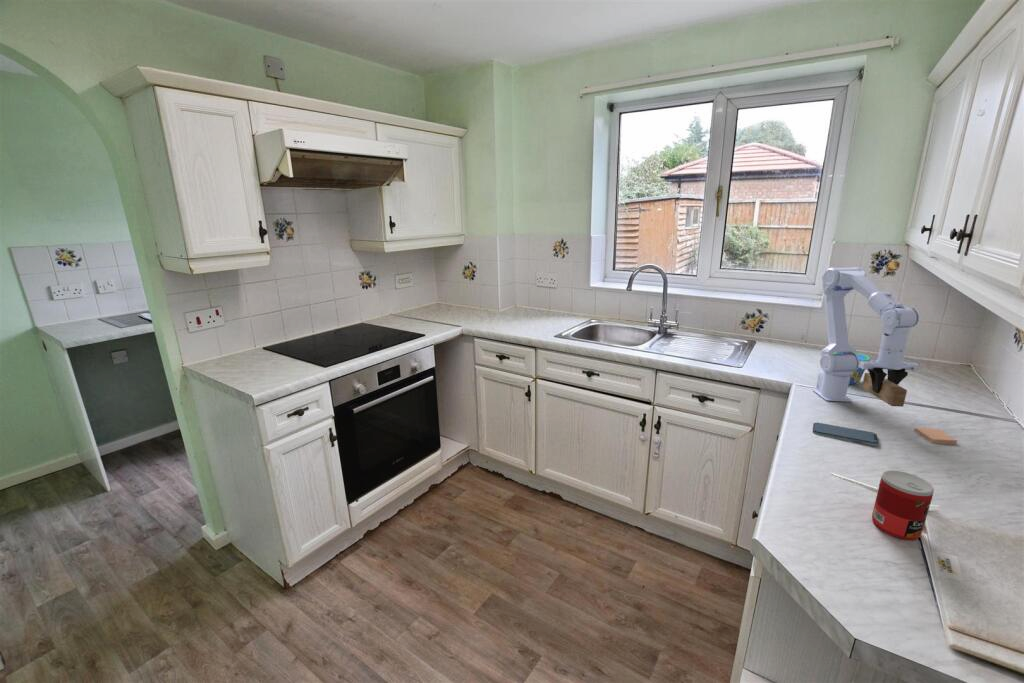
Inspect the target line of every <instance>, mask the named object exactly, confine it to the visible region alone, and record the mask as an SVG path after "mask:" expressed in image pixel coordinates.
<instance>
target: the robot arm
mask: <svg viewBox="0 0 1024 683" xmlns="http://www.w3.org/2000/svg"><path fill="white" fill-rule="evenodd" d="M821 281H822V293H823V296H824V309H825V317H826V318H825V319H826V329H827V340H828V345H827V346H826V347H824V348H823V349H822V350H821V352H820V353H821V356H820V358H819V359H820V360H819V366H820V368H821V370H820V371H819V372H818V375H817V380H816V385H815V388H812V391H813V392H814V393H815V394H817V395H818V396H820V397H821V398H822V399H824V400H825V401H826V402H848V403H849V402H852V399H850V398H849V397H848V396H847V394H848V390H849V389H848V388H849V385H850V384H849V380H850V375H852V374H853V372H854V371H856V370H857V369H858V368H859V367H860V368H861V369H865V370H867V371H868V373H869V374H870V377H871V380H872V390H873V391H874V392H876V393H879V392H880V390H881V386H882V383H883V380H884V378H885V379H887V380H889V381H891V382H893V383H895V384H896V385H898V386H899V384H900V383H901V382H902V381H903V380H904V379H905V378H907V377H908V375H909V372H908V371H913V372H914V371H915V372H918V370H919V365H920V364H918V363H916V362H912V361H911V362H908V361H904V357H905V353H906V349H907V345H908V342H909V336H910V334H911V333H910V332H911V329H912V328H914V327H915V326H916V325H918V324H919V320H920V316H919V313H918V311H917V310H916V308H915V307H911V306H906V305H904V304H903V303H902V302H900V301H898V300H897V299H896V298H895V297H893V296H892V295H893V294H892V293H891V292H889V291H884V290H883V291H880V290H879V289H878V288H877V287H876V285H874V284H873V283H872V282H871V281H870V280H869V279H868V278H867V273H866V271H865V270H863V269H862V268H861V267H859V266H856V267H855V266H853V267H829V268H827V269H826V270H825V272H824V273H823V275H822V276H821ZM854 290H855V291H857V292H858V293H859V294H861V295H862V296H863V297H865V298H866V299H867V305H868V307H870V308H871V309H872V310H873V311H874V312H876V313H877V315H879V317H880V321H881V322H880V323H881V326H882V327H881V331H882V338H881V340H880V341H881V342H880V345H879V349H878V354H877V359H873V360H871V361H859V358H858V356H857V353H858V352H857V349H856V348H855V347H853V346H852V345H851V344H849V338H848V336H849V335H848V326H847V317H846V307H845V297H846V295H847V294H850V293H852V292H853V291H854ZM839 352H840V353H843V354H834V353H839ZM885 370H887V373H886V372H885ZM886 377H887V378H886Z"/></svg>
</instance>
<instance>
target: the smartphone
mask: <svg viewBox="0 0 1024 683" xmlns="http://www.w3.org/2000/svg"><path fill="white" fill-rule="evenodd" d="M812 434H814V435H819V436H821V437H822V436H823V437H828V438H832V439H837V440H842V441H845V442H851V443H855V444H859V445H860V444H861V445H865V446H870V447H878V446H879V438H878V434H877V433H875V432H873V431H867V430H862V429H856V428H850V427H846V426H839V425H834V424H829V423H823V422H814V423H813V426H812Z"/></svg>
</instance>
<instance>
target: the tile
mask: <svg viewBox="0 0 1024 683" xmlns="http://www.w3.org/2000/svg"><path fill="white" fill-rule="evenodd" d="M913 432H915V433H917V434H918V435H919V436H920V437H922V438H923V439H925V440H926V441H928V442H930V443H931V444H942V445H943V444H944V445H945V444H946V445H957V443H958V440H957V439H956V438H954V437H952V436H951V435H949V434H947V433H946V432H944V431H943V430H941V429H940V428H927V427H914V430H913Z"/></svg>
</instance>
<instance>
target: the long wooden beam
mask: <svg viewBox="0 0 1024 683" xmlns="http://www.w3.org/2000/svg"><path fill="white" fill-rule="evenodd" d="M863 375H864V376H863V380H862V385H861V389H863V390H864V391H866V392H868V393H869V394H871V395H873V396H874V397H876V398H877V399H879V400H881V401H882V402H884V403H886V404H888V406H891V407H900V408H901V407H902V408H903V407H904V404H905V400H906V396H907V393H908V392H907V391H908V390H907V389H906V388H903V386H900V385H899V384H898V385H896V384H895V383H893V382H891V381H889V380H887V378H886V377H885V378H884V380H883V383H882V386H881V390H880V392H879V393H876V392H874V391H873V390H872V380H871V377H870V374H869V372H865V373H864V374H863Z"/></svg>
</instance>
